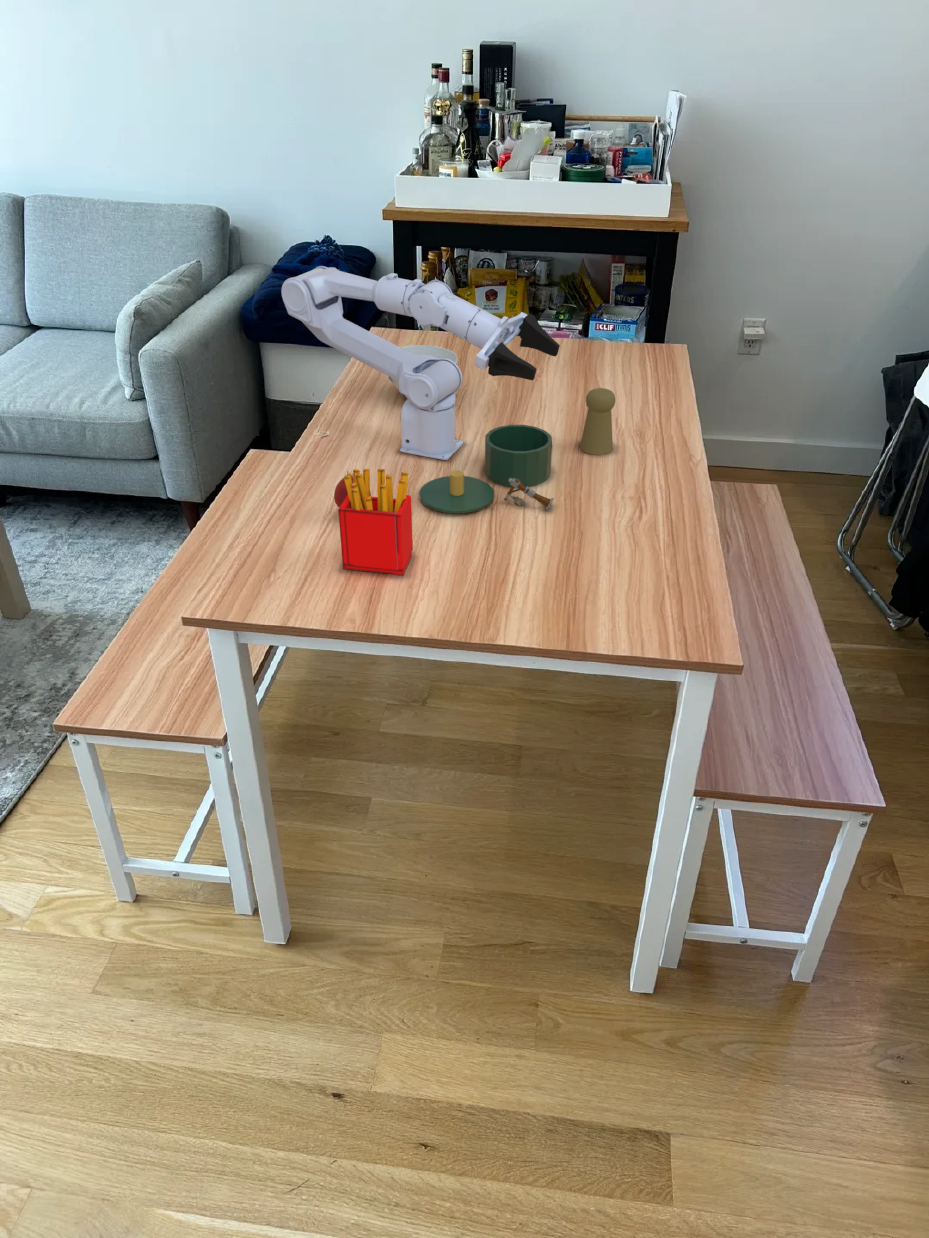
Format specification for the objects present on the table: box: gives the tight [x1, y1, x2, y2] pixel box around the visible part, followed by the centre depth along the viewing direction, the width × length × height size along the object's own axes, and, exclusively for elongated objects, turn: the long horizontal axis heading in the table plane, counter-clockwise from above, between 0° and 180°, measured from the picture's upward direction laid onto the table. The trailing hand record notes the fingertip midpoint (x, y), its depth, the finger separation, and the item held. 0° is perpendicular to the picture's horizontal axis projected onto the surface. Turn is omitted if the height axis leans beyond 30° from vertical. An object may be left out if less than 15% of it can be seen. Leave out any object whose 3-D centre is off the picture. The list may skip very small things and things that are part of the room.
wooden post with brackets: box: [503, 478, 555, 512], centre depth 158 cm, size 2×8×4 cm, turn 72°
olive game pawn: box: [579, 387, 616, 456], centre depth 173 cm, size 6×6×11 cm
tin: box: [484, 424, 553, 488], centre depth 167 cm, size 11×11×6 cm
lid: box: [419, 469, 495, 514], centre depth 159 cm, size 12×12×5 cm
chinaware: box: [387, 344, 459, 399], centre depth 194 cm, size 15×15×8 cm
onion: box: [333, 470, 372, 509], centre depth 153 cm, size 6×6×8 cm
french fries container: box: [337, 468, 414, 576], centre depth 140 cm, size 7×9×14 cm
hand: (546, 362), depth 156 cm, fingers open, 7 cm apart
